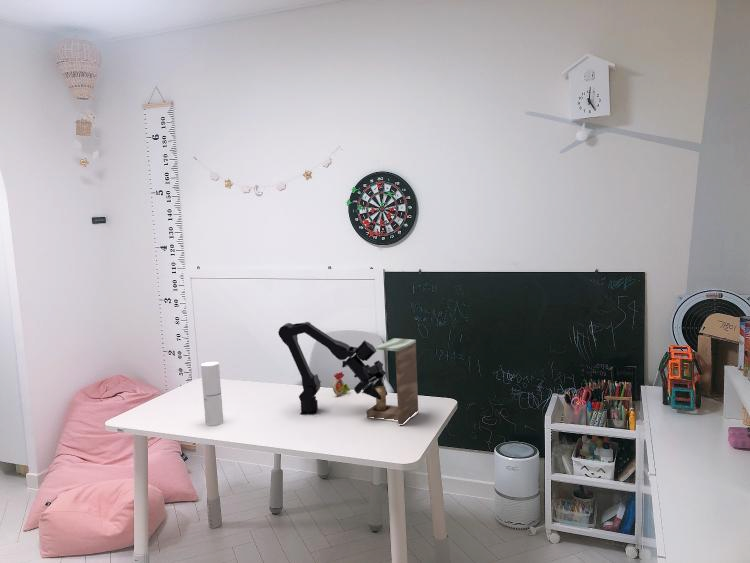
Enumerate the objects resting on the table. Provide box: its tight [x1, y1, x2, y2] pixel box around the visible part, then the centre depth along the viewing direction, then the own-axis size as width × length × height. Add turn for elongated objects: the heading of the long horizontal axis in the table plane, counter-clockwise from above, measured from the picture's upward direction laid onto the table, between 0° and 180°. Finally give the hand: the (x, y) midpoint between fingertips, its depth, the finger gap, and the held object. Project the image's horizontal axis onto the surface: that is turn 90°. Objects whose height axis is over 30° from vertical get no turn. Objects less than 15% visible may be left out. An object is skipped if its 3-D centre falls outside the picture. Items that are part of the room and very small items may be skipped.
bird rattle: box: [332, 371, 351, 397], centre depth 278 cm, size 6×11×9 cm
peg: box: [375, 385, 387, 412], centre depth 248 cm, size 4×4×12 cm
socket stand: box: [366, 337, 419, 424], centre depth 245 cm, size 18×16×31 cm
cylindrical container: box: [200, 361, 224, 427], centre depth 247 cm, size 7×7×25 cm
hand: (383, 397), depth 247 cm, fingers open, 5 cm apart
